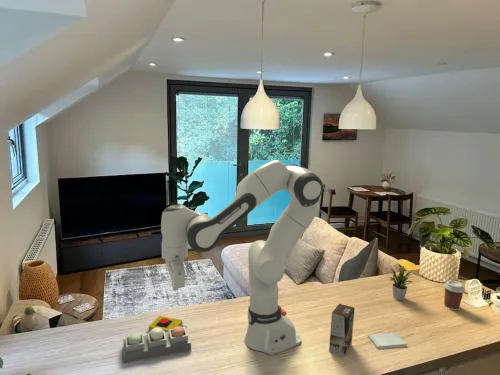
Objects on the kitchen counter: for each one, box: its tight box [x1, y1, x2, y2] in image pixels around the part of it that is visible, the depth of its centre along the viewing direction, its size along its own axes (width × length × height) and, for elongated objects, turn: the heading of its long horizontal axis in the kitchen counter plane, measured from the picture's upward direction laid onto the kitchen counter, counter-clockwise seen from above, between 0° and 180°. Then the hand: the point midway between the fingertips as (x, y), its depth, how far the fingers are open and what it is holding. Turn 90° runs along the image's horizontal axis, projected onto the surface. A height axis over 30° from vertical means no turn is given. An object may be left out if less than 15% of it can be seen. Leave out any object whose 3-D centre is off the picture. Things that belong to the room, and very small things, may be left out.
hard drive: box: [367, 332, 408, 349], centre depth 147 cm, size 2×8×12 cm
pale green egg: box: [127, 333, 141, 345], centre depth 136 cm, size 4×4×3 cm
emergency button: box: [145, 315, 188, 333], centre depth 152 cm, size 9×4×15 cm
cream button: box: [151, 328, 163, 341], centre depth 139 cm, size 4×4×3 cm
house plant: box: [389, 266, 415, 301], centre depth 182 cm, size 14×14×16 cm
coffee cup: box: [443, 280, 466, 311], centre depth 175 cm, size 9×9×12 cm
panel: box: [122, 327, 192, 364], centre depth 139 cm, size 24×10×5 cm, turn 110°
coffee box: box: [328, 303, 355, 357], centre depth 141 cm, size 9×6×16 cm
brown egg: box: [172, 326, 184, 337], centre depth 141 cm, size 4×4×3 cm
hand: (175, 288), depth 129 cm, fingers closed
